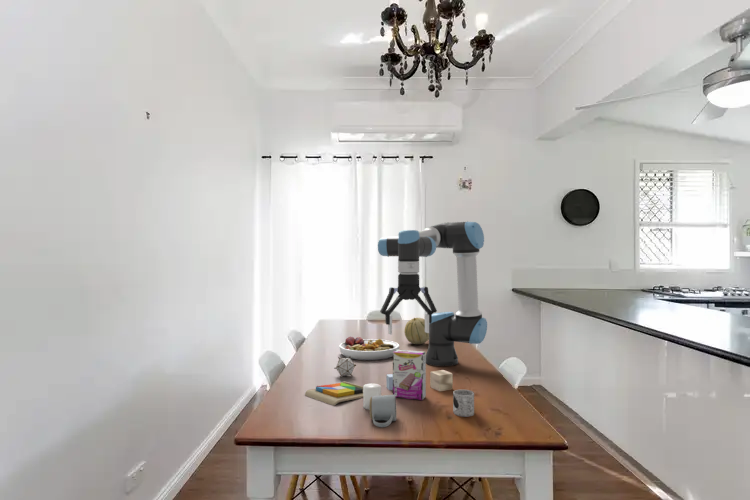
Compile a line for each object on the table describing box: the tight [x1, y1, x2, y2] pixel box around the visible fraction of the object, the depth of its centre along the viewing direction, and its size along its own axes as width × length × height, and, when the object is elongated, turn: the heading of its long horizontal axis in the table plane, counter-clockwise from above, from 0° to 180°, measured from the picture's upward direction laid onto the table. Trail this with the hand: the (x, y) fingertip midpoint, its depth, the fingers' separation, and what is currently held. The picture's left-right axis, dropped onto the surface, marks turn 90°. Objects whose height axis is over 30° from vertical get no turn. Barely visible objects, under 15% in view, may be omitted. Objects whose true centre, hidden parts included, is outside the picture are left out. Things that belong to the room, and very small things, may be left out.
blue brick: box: [385, 373, 393, 391], centre depth 182 cm, size 8×4×5 cm, turn 102°
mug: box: [452, 388, 475, 418], centre depth 152 cm, size 10×7×7 cm
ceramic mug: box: [368, 394, 397, 428], centre depth 147 cm, size 11×8×8 cm
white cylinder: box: [362, 383, 382, 411], centre depth 160 cm, size 6×6×7 cm
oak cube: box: [429, 369, 454, 392], centre depth 181 cm, size 6×6×6 cm
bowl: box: [339, 336, 400, 361], centre depth 240 cm, size 30×30×8 cm
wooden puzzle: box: [304, 380, 363, 407], centre depth 174 cm, size 18×19×4 cm
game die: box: [333, 356, 357, 379], centre depth 199 cm, size 9×8×10 cm
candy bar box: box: [392, 349, 427, 401], centre depth 170 cm, size 11×5×16 cm, turn 71°
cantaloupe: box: [403, 317, 429, 345], centre depth 264 cm, size 15×15×15 cm
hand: (408, 333), depth 170 cm, fingers open, 13 cm apart
